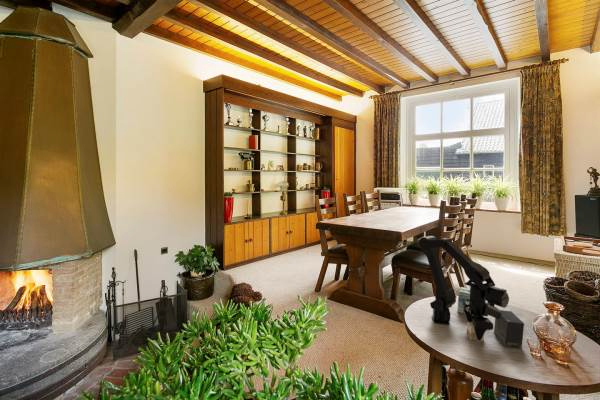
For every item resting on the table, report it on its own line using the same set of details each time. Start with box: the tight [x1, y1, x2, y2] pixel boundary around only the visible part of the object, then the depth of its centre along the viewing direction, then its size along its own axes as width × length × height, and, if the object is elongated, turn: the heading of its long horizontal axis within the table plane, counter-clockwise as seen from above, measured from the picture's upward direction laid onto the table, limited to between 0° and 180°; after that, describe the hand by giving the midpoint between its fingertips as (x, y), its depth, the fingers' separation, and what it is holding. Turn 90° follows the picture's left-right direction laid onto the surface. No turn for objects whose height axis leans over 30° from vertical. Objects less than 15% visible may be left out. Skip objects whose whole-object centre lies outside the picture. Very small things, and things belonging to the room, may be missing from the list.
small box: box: [493, 309, 525, 349], centre depth 121 cm, size 11×6×10 cm, turn 168°
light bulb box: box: [456, 286, 470, 314], centre depth 145 cm, size 11×7×11 cm, turn 55°
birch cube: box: [466, 321, 485, 341], centre depth 124 cm, size 5×5×5 cm
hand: (475, 334), depth 125 cm, fingers open, 9 cm apart
